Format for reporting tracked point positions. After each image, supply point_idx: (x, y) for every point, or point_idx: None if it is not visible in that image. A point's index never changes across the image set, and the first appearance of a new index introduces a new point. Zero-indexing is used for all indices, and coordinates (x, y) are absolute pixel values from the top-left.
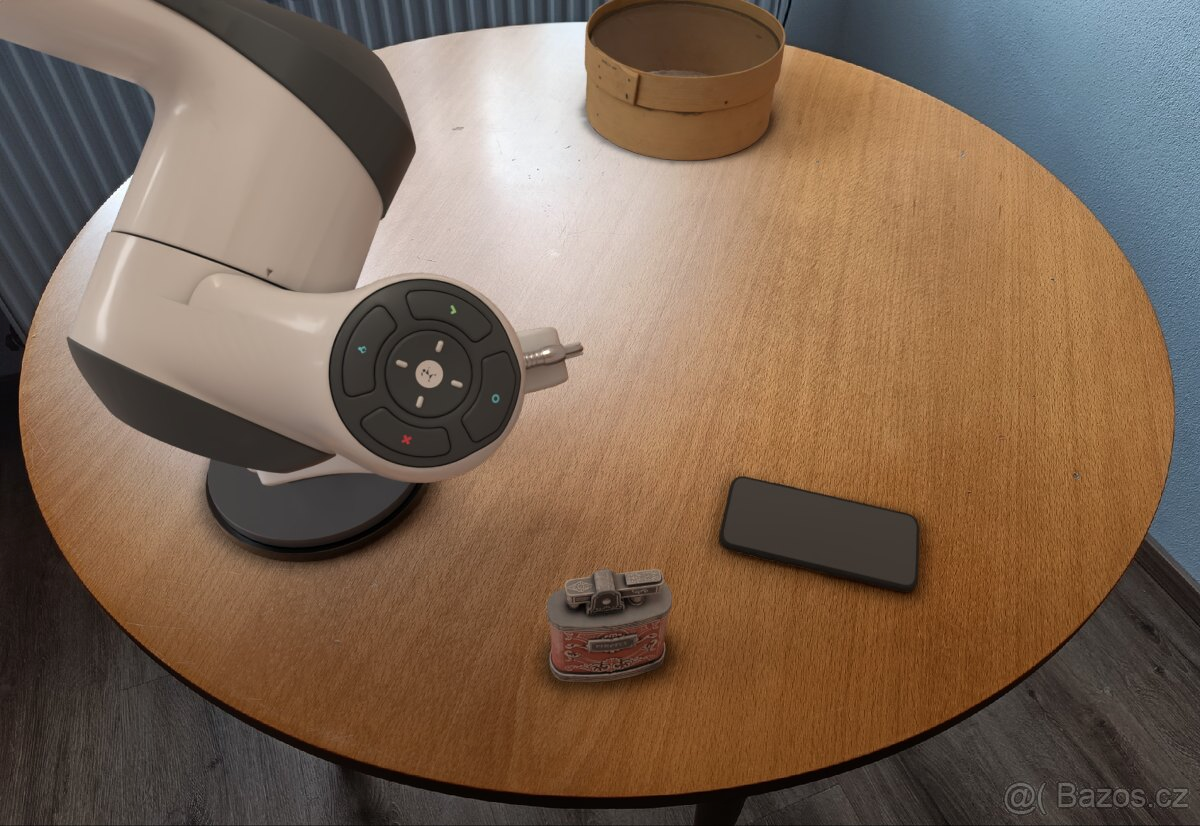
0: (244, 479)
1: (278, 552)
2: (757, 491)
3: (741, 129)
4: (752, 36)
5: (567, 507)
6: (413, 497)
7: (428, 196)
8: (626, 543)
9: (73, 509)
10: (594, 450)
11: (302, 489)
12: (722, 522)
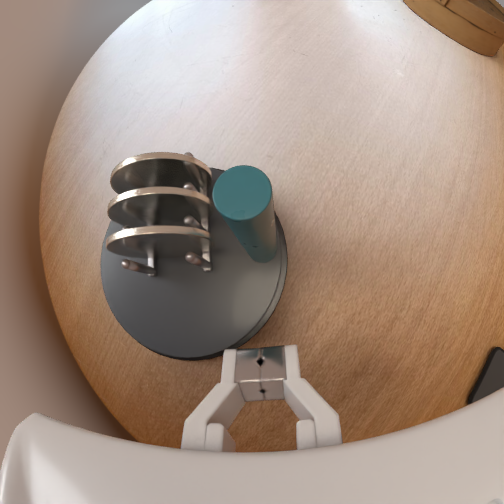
0: (122, 271)
1: (147, 347)
2: (501, 362)
3: (493, 47)
4: (488, 7)
5: (390, 354)
6: (261, 325)
7: (303, 13)
8: (418, 394)
9: (48, 252)
10: (424, 295)
11: (163, 298)
12: (476, 388)
